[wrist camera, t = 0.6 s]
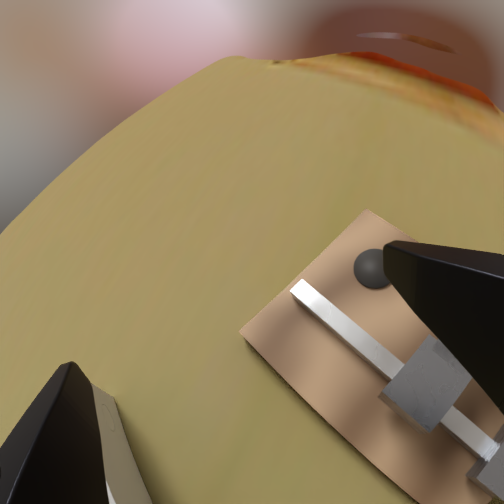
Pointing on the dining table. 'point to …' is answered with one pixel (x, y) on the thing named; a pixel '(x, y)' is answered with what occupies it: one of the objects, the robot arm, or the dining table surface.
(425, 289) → the robot arm
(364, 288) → the brown wooden board
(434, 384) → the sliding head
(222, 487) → the dining table surface
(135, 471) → the grey curved block
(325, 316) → the rail
